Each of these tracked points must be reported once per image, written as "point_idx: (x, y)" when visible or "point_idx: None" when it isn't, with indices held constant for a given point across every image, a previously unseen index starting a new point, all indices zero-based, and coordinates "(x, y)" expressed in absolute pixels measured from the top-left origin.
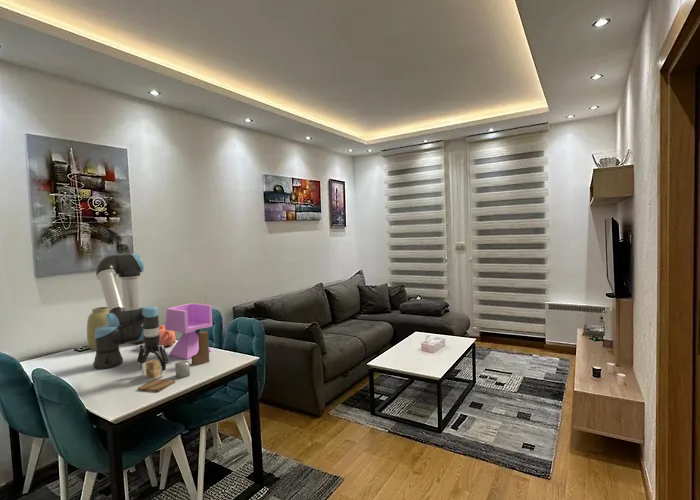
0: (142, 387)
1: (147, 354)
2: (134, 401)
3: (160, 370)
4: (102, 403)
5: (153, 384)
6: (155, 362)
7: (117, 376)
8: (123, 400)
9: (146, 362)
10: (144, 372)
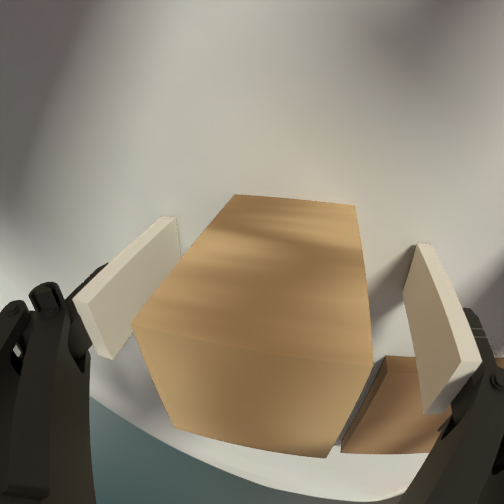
0: (366, 449)
1: (74, 483)
2: (385, 477)
3: (418, 351)
4: (274, 479)
5: (417, 428)
6: (335, 438)
7: (39, 272)
8: (337, 476)
9: (177, 424)
10: (166, 268)
